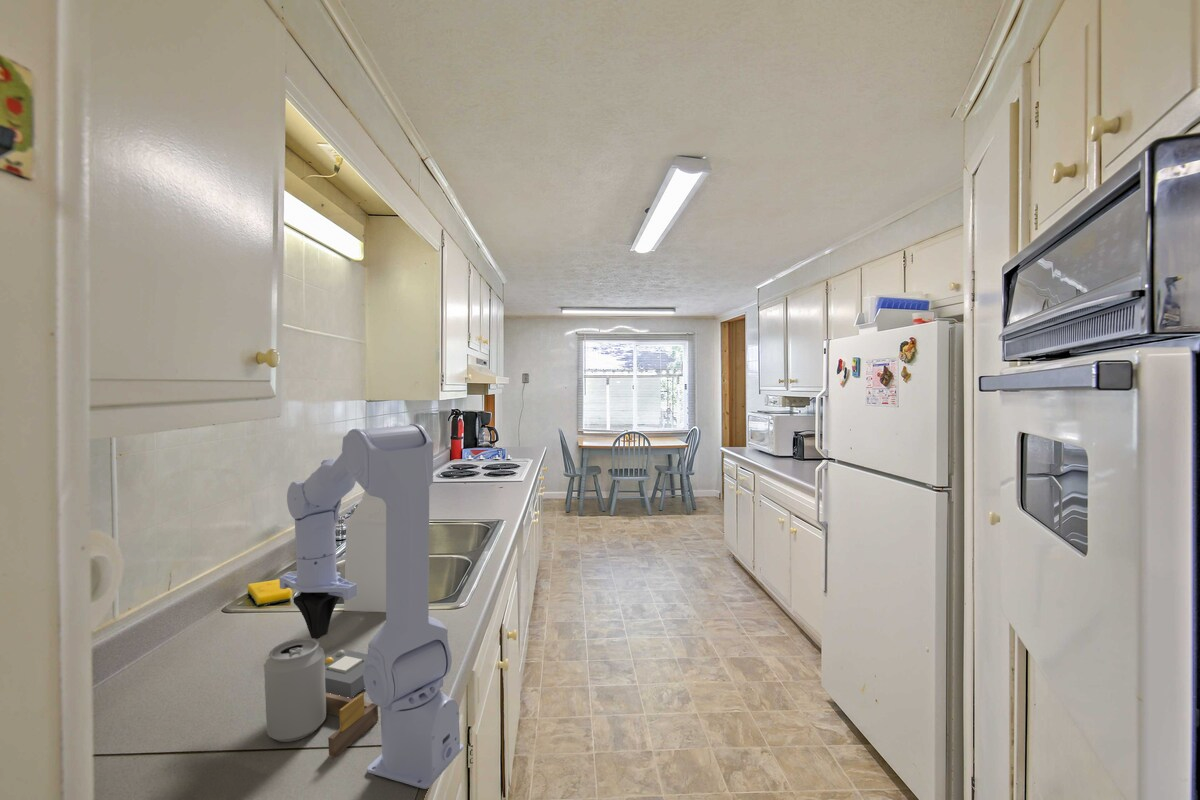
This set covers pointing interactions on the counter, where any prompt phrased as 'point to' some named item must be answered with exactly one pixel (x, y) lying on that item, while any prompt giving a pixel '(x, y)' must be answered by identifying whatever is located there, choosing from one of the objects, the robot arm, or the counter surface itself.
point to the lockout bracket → (349, 720)
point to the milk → (367, 555)
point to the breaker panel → (344, 675)
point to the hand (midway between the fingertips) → (319, 635)
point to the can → (295, 689)
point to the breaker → (345, 664)
